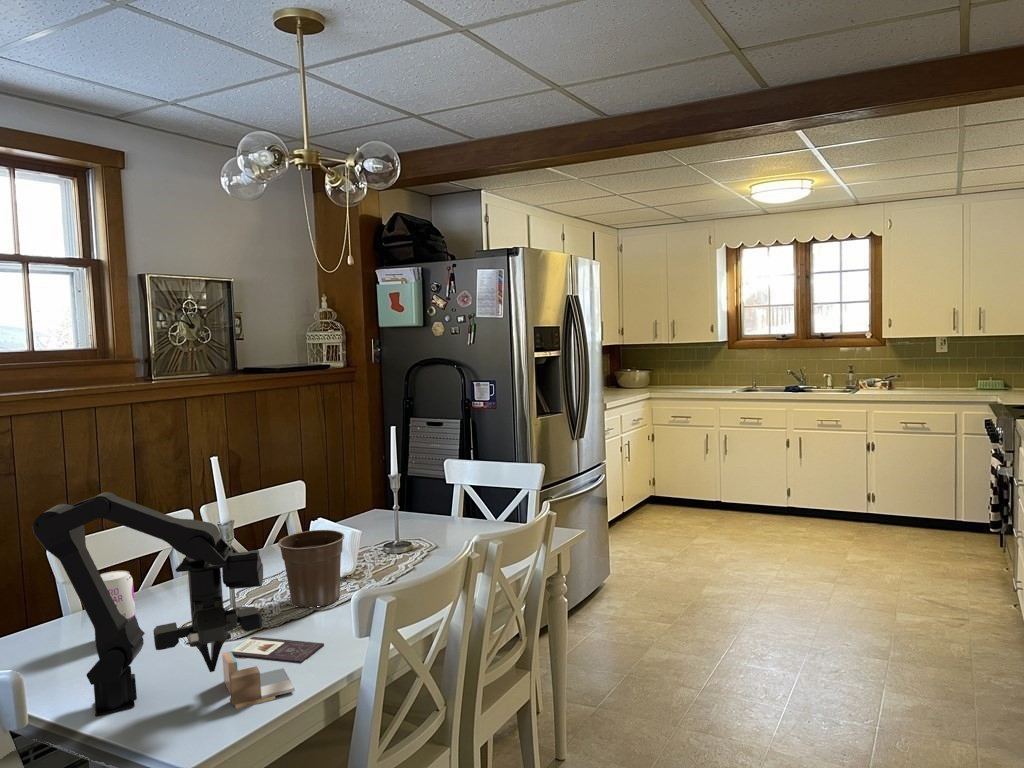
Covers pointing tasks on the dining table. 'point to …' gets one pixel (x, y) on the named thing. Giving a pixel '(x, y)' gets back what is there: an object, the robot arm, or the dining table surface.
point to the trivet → (273, 677)
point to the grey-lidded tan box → (254, 686)
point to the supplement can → (121, 591)
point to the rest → (253, 702)
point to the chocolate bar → (277, 649)
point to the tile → (228, 666)
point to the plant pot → (313, 566)
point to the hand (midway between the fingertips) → (211, 671)
